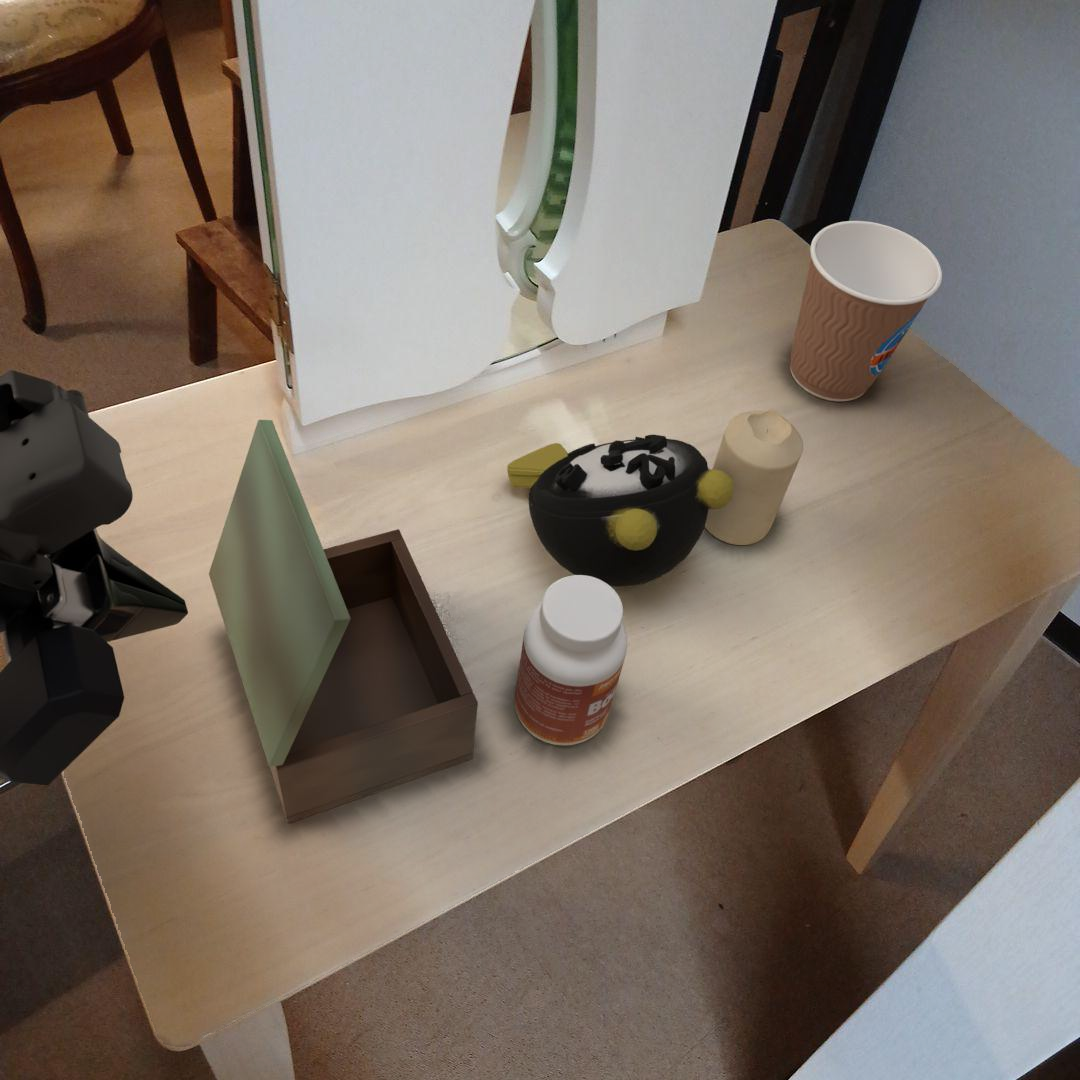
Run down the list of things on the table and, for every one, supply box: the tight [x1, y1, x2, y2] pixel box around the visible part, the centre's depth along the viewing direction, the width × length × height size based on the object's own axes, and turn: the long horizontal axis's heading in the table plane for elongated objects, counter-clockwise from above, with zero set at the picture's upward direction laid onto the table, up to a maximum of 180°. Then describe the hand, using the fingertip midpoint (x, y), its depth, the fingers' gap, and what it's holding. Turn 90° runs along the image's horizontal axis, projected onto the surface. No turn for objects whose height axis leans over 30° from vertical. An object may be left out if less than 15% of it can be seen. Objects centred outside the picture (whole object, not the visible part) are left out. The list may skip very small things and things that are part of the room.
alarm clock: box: [506, 434, 734, 588], centre depth 74 cm, size 12×15×15 cm
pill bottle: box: [514, 574, 628, 746], centre depth 65 cm, size 6×6×11 cm
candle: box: [704, 409, 804, 546], centre depth 77 cm, size 6×6×10 cm
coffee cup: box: [789, 220, 943, 402], centre depth 87 cm, size 10×10×12 cm
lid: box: [208, 419, 350, 768], centre depth 56 cm, size 12×14×1 cm
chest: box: [269, 528, 479, 824], centre depth 65 cm, size 12×14×7 cm
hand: (182, 612), depth 55 cm, fingers closed
